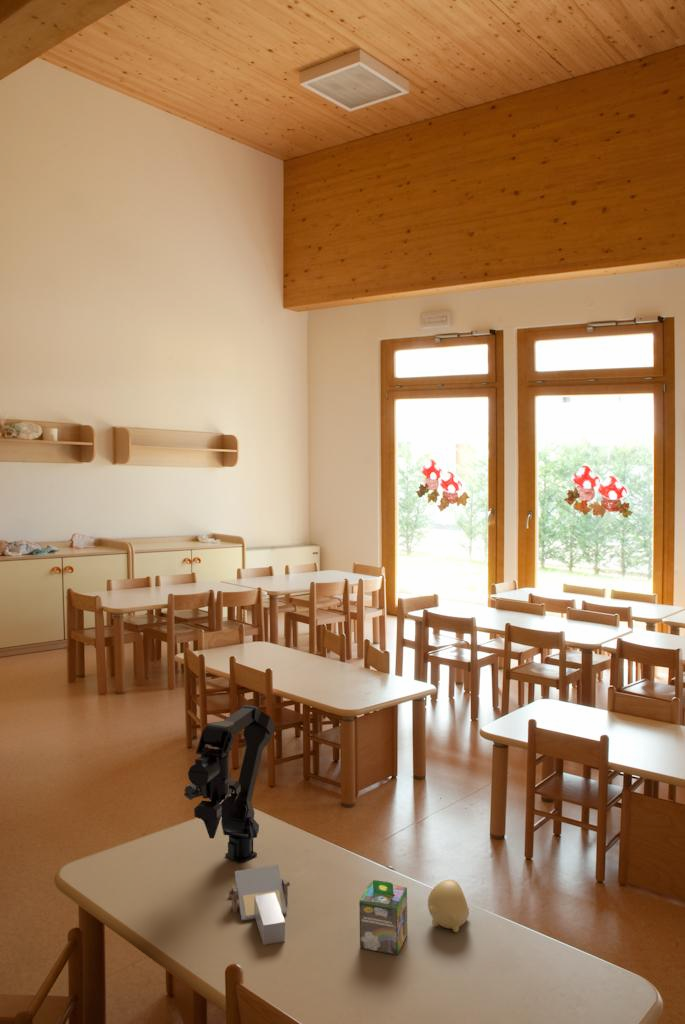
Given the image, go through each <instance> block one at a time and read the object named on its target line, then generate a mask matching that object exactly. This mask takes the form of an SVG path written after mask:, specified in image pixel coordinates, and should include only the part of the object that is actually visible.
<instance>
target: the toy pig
mask: <svg viewBox="0 0 685 1024" xmlns="http://www.w3.org/2000/svg"><path fill="white" fill-rule="evenodd" d="M427 908H428V912H429V915H430V916H431V918H432V922H431V925H432V926H433V927H438V926H441V927H442V928H445V929H452V931H453V932H454V933H457V932H459V930H460V927H461V926H463V924H464V923H465V922H466V921H467V920H468V918H469V916H470V909H469V906H468V903H467V899H466V897H465V894H464V892H463V889H462V887H461V886H460V884H459V882H458V881H456V880H455V879H446V880H443V881H440V882H439V883H438V884H436V885H435V886H434V887H433V888H432V889H431V891H430V893H429V895H428V899H427Z"/></svg>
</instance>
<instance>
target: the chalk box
mask: <svg viewBox="0 0 685 1024" xmlns="http://www.w3.org/2000/svg"><path fill="white" fill-rule="evenodd" d="M358 904H359V905H358V906H359V948H360V949H365V950H369V951H370V950H371V951H374V952H379V953H384V954H388V953H389V955H392V954H394V956H398V954H399V952H400V951H401V949H402V947H403V944H404V942H405V940H406V938H407V935H408V888H407V886H402V885H401V886H400V885H396V884H393V883H392V882H389V881H383V880H377V879H373V880H372V882H370V883H369V885H368V886H367V887H366V889H365V891H364V892H363V894H362V896H361V898H360V900H359V903H358Z"/></svg>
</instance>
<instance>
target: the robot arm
mask: <svg viewBox="0 0 685 1024" xmlns="http://www.w3.org/2000/svg"><path fill="white" fill-rule="evenodd" d="M271 717H272V716H270V715H268V714H267V713H265V712H263V711H262V710H261V708H260V707H258V706H254V705H247V704H244V705H241V706H240V708H238V710H236V711H235V712H233V713H232V714H231V715H229V716H228V717H227V718H225V719H224V720H219V721H213V722H209V723H208V724H206V725H205V727H204V728H203V729H202V733H201V734H200V738H199V741H198V745H197V749H196V751H195V754H196V755H200V756H198V757H197V758H195V760H194V764H193V765H191V766H190V768H189V769H188V772H187V773H188V774H187V776H188V779H189V781H190V783H189V784H187V785H186V786H185V789H184V790H183V791H184V794H183V795H184V797H186V798H187V799H188V800H189V801H191V800H193V799H195V798H199V797H202V799H209V800H201V801H200V802H199V803H198V804H197V805H196V806H195V807H194V808H193V817H194V818H197V819H200V820H202V821H203V824H204V826H205V828H206V832H207V835H208V837H209V839H212V840H213V839H214V838H215V836H216V833H217V830H218V827H219V824H220V822H221V827H222V828H221V829H222V832H223V835H224V836H228V842H227V852H226V853H224V854H225V857H227V858H228V859H230V860H233V861H234V862H237V863H239V864H241V863H243V862H245V861H248V860H250V859H252V858H254V857H257V856H258V853H257V852H255V851H254V839H255V838H257V837H258V833H259V830H260V824H258V822H257V820H256V819H255V809H254V806H253V803H252V799H253V796H254V791H255V787H256V781H257V777H258V772H259V768H260V764H261V759H262V755H263V750H264V749H265V747H267V745H269V743H270V742H271V741H272V738H273V734H274V732H275V729H276V724H275V721H274V720H273V719H272V718H271ZM241 731H243V733H242V737H243V739H244V742H245V745H246V746H245V749H244V754H243V758H242V761H241V762H242V764H241V767H240V772H239V775H238V776H239V777H238V780H233V779H232V780H231V778H232V776H233V774H232V773H230V762H229V761H230V758H229V757H230V752H231V751H232V750H233V748H232V745H233V743H234V742H235V737H236V735H237V734H238V733H240V732H241Z"/></svg>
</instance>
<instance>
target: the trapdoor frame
mask: <svg viewBox="0 0 685 1024" xmlns="http://www.w3.org/2000/svg"><path fill="white" fill-rule="evenodd" d="M281 883H282V888H283V893H284V899H285V904H286V906H287V904H288V905H289V903H288V891H289V890H288V887H290V886H291V884H290V881H287V880H286V877H281ZM228 899H231V908H232V912H233V914H237V913H238V893H237V886H236V884H232V885H231V890H229V891H228Z"/></svg>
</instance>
